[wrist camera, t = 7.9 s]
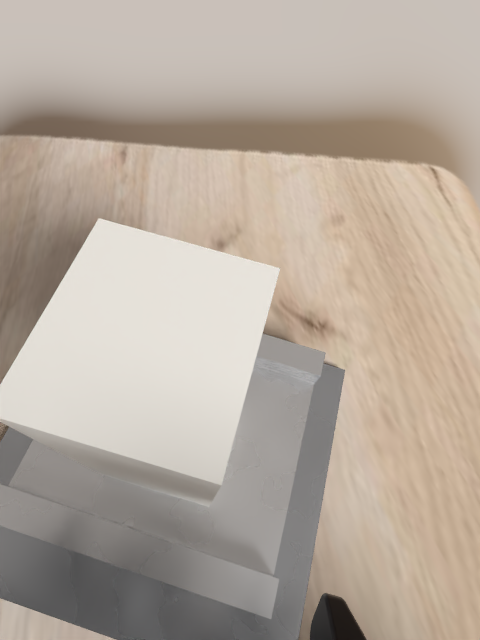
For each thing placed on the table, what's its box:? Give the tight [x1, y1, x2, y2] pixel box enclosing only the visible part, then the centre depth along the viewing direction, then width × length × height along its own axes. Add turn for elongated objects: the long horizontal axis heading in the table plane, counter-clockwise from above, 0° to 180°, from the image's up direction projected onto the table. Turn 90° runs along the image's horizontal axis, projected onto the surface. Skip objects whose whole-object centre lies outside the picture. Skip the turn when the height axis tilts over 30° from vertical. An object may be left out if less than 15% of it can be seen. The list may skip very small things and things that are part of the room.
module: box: [0, 218, 280, 507], centre depth 13 cm, size 5×5×10 cm
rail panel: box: [0, 334, 345, 640], centre depth 17 cm, size 13×14×2 cm
